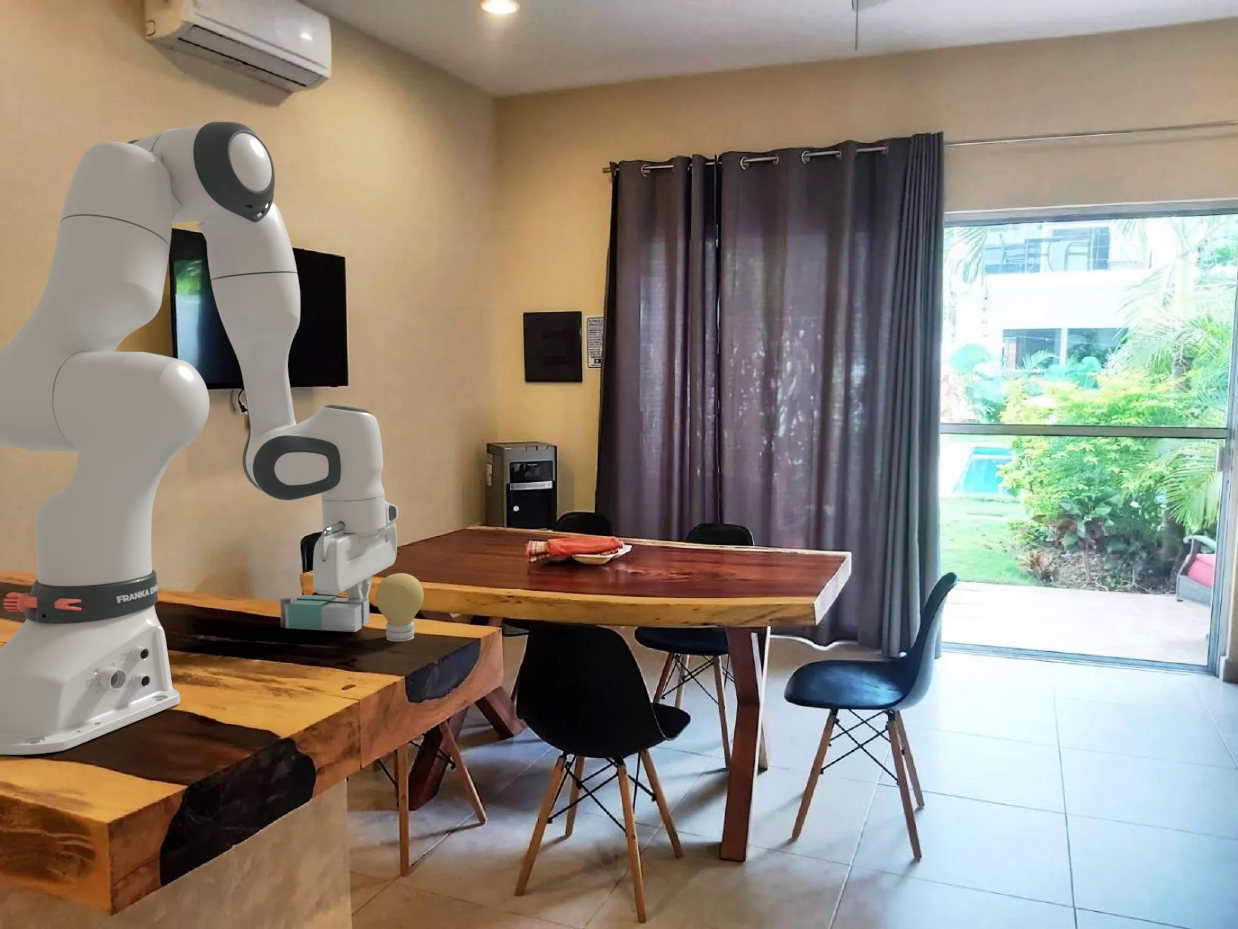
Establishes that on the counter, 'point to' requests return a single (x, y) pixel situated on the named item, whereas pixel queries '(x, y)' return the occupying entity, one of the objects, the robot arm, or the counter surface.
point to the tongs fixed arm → (320, 615)
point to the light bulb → (399, 604)
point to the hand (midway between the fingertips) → (359, 609)
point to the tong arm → (333, 599)
